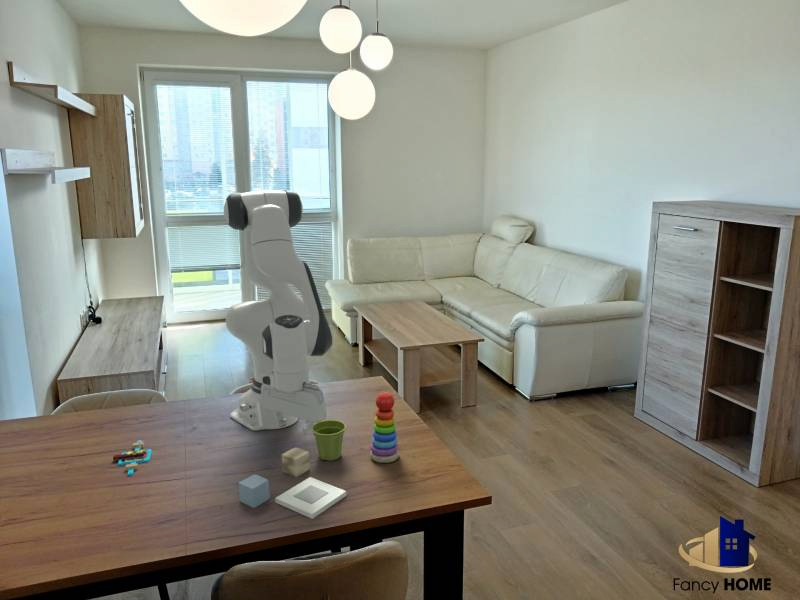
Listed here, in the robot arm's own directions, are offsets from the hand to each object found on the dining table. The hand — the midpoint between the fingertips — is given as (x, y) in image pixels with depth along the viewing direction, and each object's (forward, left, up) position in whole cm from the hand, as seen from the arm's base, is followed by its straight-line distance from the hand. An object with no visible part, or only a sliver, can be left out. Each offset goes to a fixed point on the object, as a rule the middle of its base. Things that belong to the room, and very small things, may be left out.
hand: (294, 430), depth 157 cm
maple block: (0, 0, -12) cm, 12 cm away
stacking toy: (+15, +19, -12) cm, 27 cm away
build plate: (+13, -8, -12) cm, 19 cm away
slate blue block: (+2, -16, -12) cm, 20 cm away
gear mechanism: (-43, -21, -13) cm, 49 cm away
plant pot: (+2, +11, -12) cm, 17 cm away
